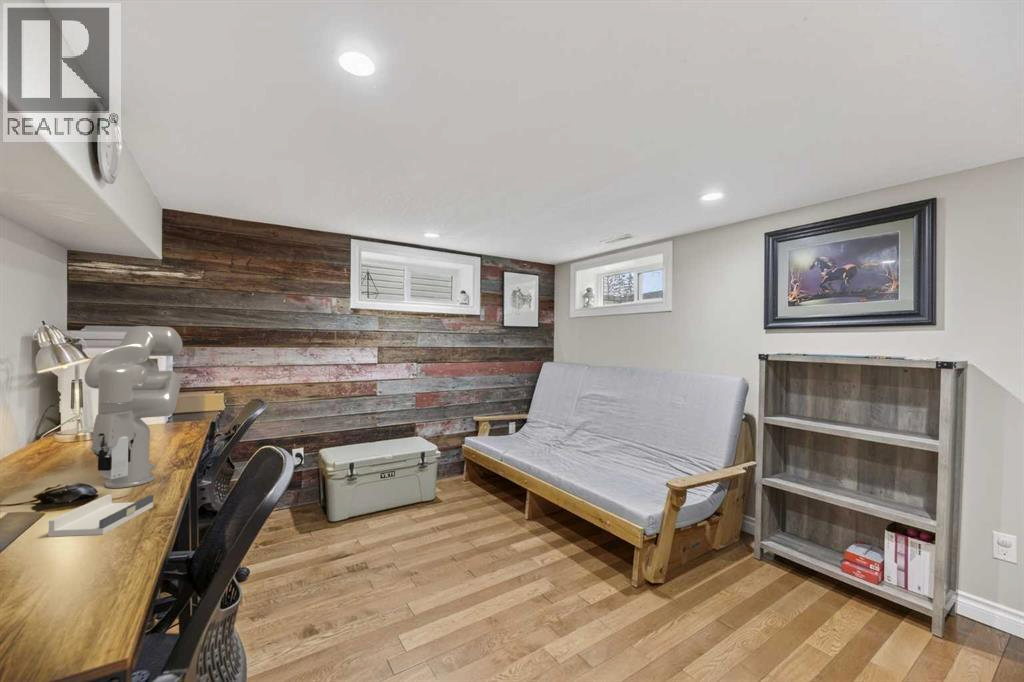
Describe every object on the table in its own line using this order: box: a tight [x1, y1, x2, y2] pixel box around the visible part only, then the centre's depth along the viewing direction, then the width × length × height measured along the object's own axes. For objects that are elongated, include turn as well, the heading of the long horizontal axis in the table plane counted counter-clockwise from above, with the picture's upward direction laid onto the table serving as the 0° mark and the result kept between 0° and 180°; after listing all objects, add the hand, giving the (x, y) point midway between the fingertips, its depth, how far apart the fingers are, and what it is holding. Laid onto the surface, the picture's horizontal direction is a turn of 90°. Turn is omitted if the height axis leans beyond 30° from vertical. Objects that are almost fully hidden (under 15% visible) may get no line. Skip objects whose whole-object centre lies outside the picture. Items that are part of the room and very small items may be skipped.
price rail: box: [99, 494, 154, 529], centre depth 114 cm, size 18×1×2 cm, turn 9°
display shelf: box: [47, 494, 154, 538], centre depth 114 cm, size 18×12×4 cm, turn 9°
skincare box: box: [100, 437, 128, 480], centre depth 127 cm, size 6×4×12 cm
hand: (114, 465), depth 127 cm, fingers closed on skincare box, 6 cm apart
